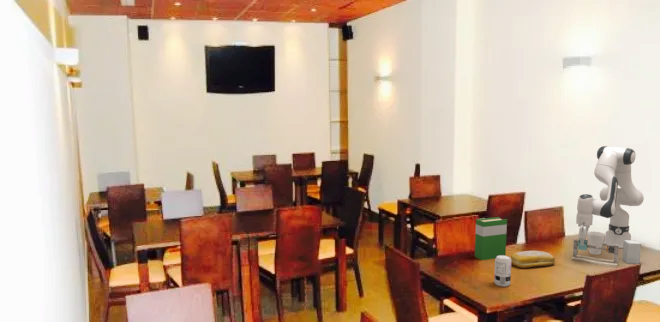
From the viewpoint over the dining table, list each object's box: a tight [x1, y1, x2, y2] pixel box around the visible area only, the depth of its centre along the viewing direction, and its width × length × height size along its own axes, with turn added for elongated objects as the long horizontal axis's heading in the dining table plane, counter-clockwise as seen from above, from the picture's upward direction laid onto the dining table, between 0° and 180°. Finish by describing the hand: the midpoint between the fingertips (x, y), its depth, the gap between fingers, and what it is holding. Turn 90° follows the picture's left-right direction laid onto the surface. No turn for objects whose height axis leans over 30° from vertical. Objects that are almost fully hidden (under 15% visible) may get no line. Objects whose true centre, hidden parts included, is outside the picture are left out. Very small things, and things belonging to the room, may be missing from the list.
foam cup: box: [587, 230, 606, 256], centre depth 324 cm, size 10×9×13 cm
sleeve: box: [577, 238, 589, 251], centre depth 310 cm, size 4×5×5 cm
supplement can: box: [493, 255, 512, 288], centre depth 270 cm, size 8×8×15 cm
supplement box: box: [622, 239, 642, 265], centre depth 307 cm, size 7×7×13 cm
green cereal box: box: [474, 216, 508, 261], centre depth 316 cm, size 18×7×24 cm, turn 111°
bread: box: [510, 249, 556, 269], centre depth 302 cm, size 13×26×8 cm, turn 110°
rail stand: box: [571, 238, 619, 268], centre depth 307 cm, size 10×24×12 cm, turn 59°
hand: (582, 243), depth 310 cm, fingers open, 8 cm apart
